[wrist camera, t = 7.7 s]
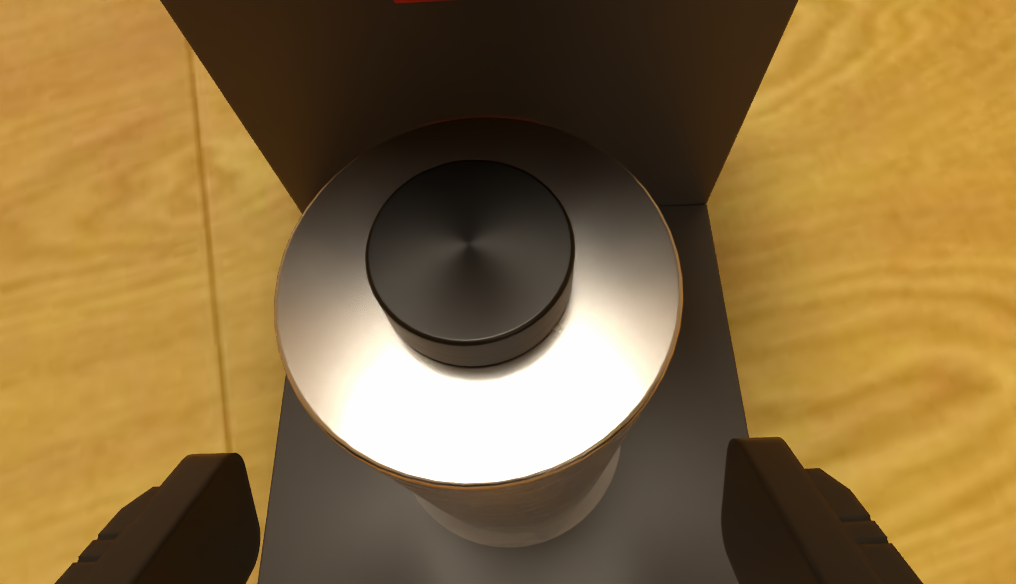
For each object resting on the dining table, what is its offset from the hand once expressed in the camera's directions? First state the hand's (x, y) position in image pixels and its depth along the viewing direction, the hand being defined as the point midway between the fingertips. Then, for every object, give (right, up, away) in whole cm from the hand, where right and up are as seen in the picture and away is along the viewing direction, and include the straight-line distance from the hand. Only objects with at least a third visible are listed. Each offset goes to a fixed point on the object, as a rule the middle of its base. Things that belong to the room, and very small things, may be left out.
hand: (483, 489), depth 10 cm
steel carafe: (0, -1, +9) cm, 9 cm away
